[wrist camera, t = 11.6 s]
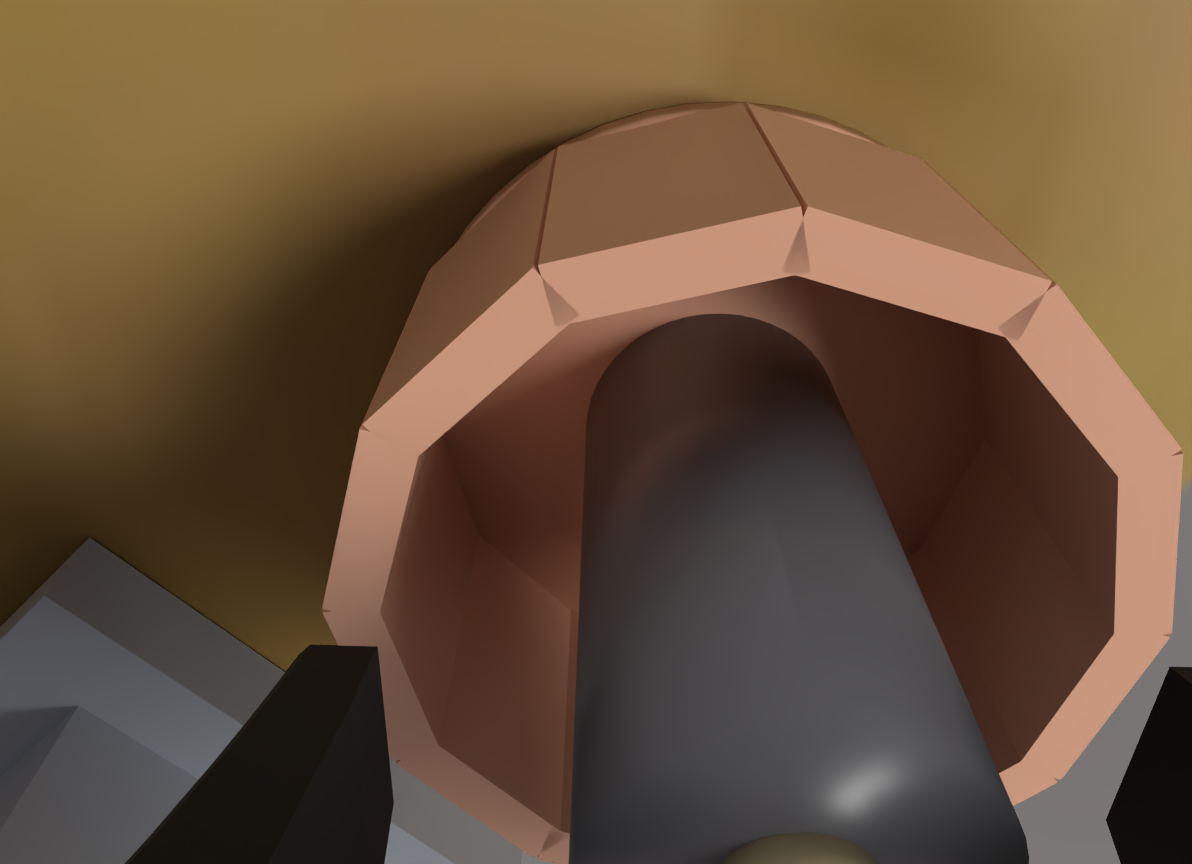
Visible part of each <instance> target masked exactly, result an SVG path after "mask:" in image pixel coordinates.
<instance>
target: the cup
mask: <svg viewBox="0 0 1192 864" xmlns="http://www.w3.org/2000/svg"><path fill="white" fill-rule="evenodd" d="M702 314H734V315H742V316H746V317H751V318H756V319H759V320H762V321H765V322H767V323H770V324H773V325H775V326H777V327H779V328H781V329H783V330H785V331H787V332H788V333H790V334H791V335H792V336H794V337H795V338H797V339H798V340H800V341H801V342H802V343H803V344H804V345H805V346H806V347H807V348H808V349H810V350H811V351H812V353H813V354H814V355H815V356H816V358H817V359H818V360H819V361H820V362H821V364H822V366H823V367H824V369H825V371H826V373H827V374H828V376H829V378H830V381H831V383H832V385H833V388H834V390H835V392H836V395H837V397H838V399H839V402H840V404H841V406H842V409H843V411H844V413H845V416H846V418H847V420H848V423H849V425H850V427H851V430H852V432H853V434H854V437H855V439H856V441H857V444H858V446H859V448H860V451H861V453H862V455H863V458H864V460H865V462H866V465H867V467H868V469H869V472H870V474H871V476H872V479H873V481H874V483H875V486H876V488H877V490H878V493H879V495H880V497H881V500H882V502H883V504H884V507H885V509H886V511H887V514H888V516H889V518H890V521H891V523H892V525H893V528H894V530H895V532H896V535H897V537H898V539H899V542H900V544H901V546H902V549H903V551H904V553H905V556H906V558H907V560H908V563H909V565H910V567H911V570H912V572H913V574H914V577H915V579H916V581H917V584H918V586H919V588H920V591H921V593H922V595H923V598H924V600H925V602H926V605H927V607H928V609H929V612H930V614H931V616H932V619H933V621H934V623H935V626H936V628H937V630H938V633H939V635H940V637H941V640H942V642H943V644H944V647H945V649H946V651H947V654H948V656H949V658H950V661H951V663H952V665H953V668H954V670H955V672H956V675H957V677H958V679H959V682H960V684H961V686H962V689H963V691H964V693H965V696H966V698H967V700H968V703H969V705H970V707H971V710H972V712H973V714H974V717H975V719H976V721H977V724H978V726H979V728H980V731H981V733H982V735H983V738H984V740H985V742H986V745H987V747H988V749H989V752H990V754H991V756H992V759H993V761H994V763H995V766H996V768H997V770H998V773H999V775H1000V777H1001V780H1002V782H1003V784H1004V787H1005V789H1006V791H1007V794H1008V796H1009V798H1010V801H1011V803H1012V805H1013V806H1014V805H1016V804H1018V803H1020V802H1022V801H1023V800H1025V799H1027V798H1029V797H1031V796H1033V795H1035V794H1037V793H1038V792H1040V791H1042V790H1044V789H1046V788H1048V787H1050V786H1052V785H1054V784H1055V783H1057V780H1056V778H1057V779H1062V778H1063V776H1064V775H1065V774H1066V773H1067V771H1068V770H1069V769H1070V767H1071V766H1072V765H1073V763H1074V762H1075V761H1076V759H1077V758H1078V757H1079V756H1080V754H1081V753H1082V752H1083V750H1084V749H1085V748H1086V746H1087V745H1088V744H1089V742H1090V741H1091V740H1092V739H1093V737H1094V736H1095V735H1096V733H1097V732H1098V731H1099V729H1100V728H1101V727H1102V726H1103V724H1104V723H1105V722H1106V720H1107V719H1108V718H1109V716H1110V715H1111V714H1112V713H1113V711H1114V710H1115V709H1116V707H1117V706H1118V705H1119V703H1120V702H1121V701H1122V699H1123V698H1124V697H1125V696H1126V694H1127V693H1128V691H1129V690H1130V689H1131V688H1132V686H1133V685H1134V684H1135V683H1136V681H1137V680H1138V679H1139V677H1140V676H1141V675H1142V673H1143V672H1144V671H1145V669H1146V668H1147V667H1148V666H1149V664H1150V663H1151V662H1152V660H1153V659H1154V658H1155V656H1156V655H1157V654H1158V653H1159V651H1160V650H1161V649H1162V647H1163V646H1164V645H1165V643H1166V642H1167V641H1168V639H1169V638H1170V636H1169V635H1168V634H1170V633H1172V624H1173V609H1174V608H1173V607H1174V593H1175V576H1176V561H1177V545H1178V530H1179V514H1180V498H1181V483H1182V467H1183V453H1182V452H1181V451H1180V450H1182V449H1181V447H1180V446H1179V445H1178V443H1177V442H1176V441H1175V439H1174V438H1173V437H1172V436H1171V434H1170V433H1169V432H1168V430H1167V429H1166V428H1165V426H1164V425H1163V424H1162V422H1161V421H1160V420H1159V418H1158V417H1157V416H1156V414H1155V413H1154V412H1153V410H1152V409H1151V408H1150V406H1149V405H1148V404H1147V403H1146V401H1145V400H1144V399H1143V397H1142V396H1141V395H1140V393H1139V392H1138V391H1137V389H1136V388H1135V387H1134V385H1133V384H1132V383H1131V381H1130V380H1129V379H1128V377H1127V376H1126V375H1125V374H1124V372H1123V371H1122V370H1121V368H1120V367H1119V366H1118V364H1117V363H1116V362H1115V360H1114V359H1113V358H1112V356H1111V355H1110V354H1109V352H1108V351H1107V350H1106V348H1105V347H1104V346H1103V344H1102V343H1101V342H1100V341H1099V339H1098V338H1097V337H1096V335H1095V334H1094V333H1093V331H1092V330H1091V329H1090V327H1089V326H1088V325H1087V323H1086V322H1085V321H1084V319H1083V318H1082V317H1081V315H1080V314H1079V313H1078V312H1077V310H1076V309H1075V308H1074V306H1073V305H1072V304H1071V302H1070V301H1069V300H1068V298H1067V297H1066V296H1065V294H1064V293H1063V292H1062V290H1061V289H1060V288H1059V286H1058V285H1057V284H1056V283H1055V282H1054V281H1053V280H1052V279H1051V278H1050V277H1049V276H1047V275H1046V274H1045V273H1044V272H1043V271H1042V270H1041V269H1040V268H1039V267H1038V266H1037V265H1036V264H1035V263H1033V262H1032V261H1031V260H1030V259H1029V258H1028V257H1027V256H1026V255H1025V254H1024V253H1023V252H1022V251H1021V250H1019V249H1018V248H1017V247H1016V246H1015V245H1014V244H1013V243H1012V242H1011V241H1010V240H1009V239H1008V238H1007V237H1006V236H1004V235H1003V234H1002V233H1001V232H1000V231H999V230H998V229H997V228H996V227H995V226H994V225H993V224H992V223H990V222H989V221H988V220H987V219H986V218H985V217H984V216H983V215H982V214H981V213H980V212H979V211H978V210H977V209H975V208H974V207H973V206H972V205H971V204H970V203H969V202H968V201H967V200H966V199H965V198H964V197H963V196H961V195H960V194H959V193H958V192H957V191H956V190H955V189H954V188H953V187H952V186H951V185H950V184H949V183H948V182H946V181H945V180H944V179H943V178H942V177H941V176H940V175H939V174H938V173H937V172H936V171H935V170H934V169H932V168H931V167H930V166H929V165H928V164H927V163H926V162H925V161H923V160H922V159H921V158H918V157H915V156H912V155H909V154H906V153H903V152H900V151H896V150H893V149H890V148H888V147H886V146H885V145H883V144H881V143H879V142H878V141H876V140H874V139H873V138H871V137H869V136H867V135H866V134H864V133H862V132H860V131H857V130H855V129H852V128H850V127H847V126H845V125H842V124H840V123H837V122H835V121H832V120H830V119H827V118H825V117H822V116H818V115H814V114H810V113H806V112H802V111H798V110H794V109H789V108H785V107H781V106H773V105H763V104H753V103H743V102H714V103H690V104H684V105H678V106H672V107H666V108H661V109H655V110H649V111H645V112H641V113H638V114H635V115H632V116H629V117H625V118H622V119H619V120H616V121H613V122H609V123H606V124H603V125H601V126H599V127H597V128H595V129H593V130H590V131H588V132H586V133H584V134H582V135H580V136H577V137H575V138H573V139H571V140H569V141H567V142H565V143H563V144H561V145H560V146H558V147H557V148H555V149H553V150H552V151H550V152H549V153H547V154H546V155H544V156H543V157H541V158H539V159H538V160H536V161H535V162H533V163H532V164H530V165H528V166H527V167H526V168H525V169H524V170H522V171H521V172H520V173H519V174H518V175H517V176H515V177H514V178H513V179H512V180H511V181H510V182H508V183H507V184H506V185H505V186H504V187H502V188H501V189H500V190H499V191H498V192H497V193H496V194H495V195H494V196H493V197H492V198H491V199H490V200H489V201H488V203H487V204H486V205H485V206H484V207H483V208H482V209H481V210H480V211H479V213H478V214H477V215H476V216H475V217H474V218H473V219H472V220H471V222H470V223H469V224H468V225H467V227H466V228H465V230H464V231H463V233H462V234H461V236H460V237H459V239H458V240H457V242H456V243H455V245H454V246H453V247H452V248H451V249H450V250H449V251H448V252H447V253H446V254H445V255H444V256H443V257H442V258H441V259H440V260H439V261H438V262H437V263H436V264H435V265H434V266H433V267H432V268H431V269H430V270H429V272H428V274H427V276H426V278H425V280H424V283H423V285H422V287H421V290H420V292H419V294H418V296H417V299H416V301H415V303H414V306H413V308H412V310H411V312H410V315H409V317H408V319H407V322H406V324H405V326H404V328H403V331H402V333H401V335H400V338H399V340H398V342H397V344H396V347H395V349H394V351H393V354H392V356H391V358H390V360H389V363H388V365H387V367H386V370H385V372H384V374H383V377H382V379H381V381H380V383H379V386H378V388H377V390H376V393H375V395H374V397H373V399H372V402H371V404H370V406H369V409H368V411H367V413H366V415H365V418H364V420H363V422H362V425H361V427H360V429H359V434H358V439H357V444H356V448H355V453H354V458H353V463H352V467H351V472H350V477H349V482H348V487H347V491H346V496H345V501H344V506H343V511H342V515H341V520H340V525H339V530H338V534H337V539H336V544H335V549H334V554H333V558H332V563H331V568H330V573H329V577H328V582H327V587H326V592H325V597H324V601H323V606H322V609H324V610H323V615H324V617H325V619H326V621H327V623H328V625H329V628H330V630H331V632H332V634H333V636H334V638H335V640H336V642H337V644H338V645H340V646H378V654H379V663H380V673H381V683H382V693H383V702H384V712H385V722H386V731H387V741H388V751H389V753H390V755H391V758H392V760H393V761H396V760H397V761H396V764H397V765H398V766H400V767H401V768H403V769H404V770H405V771H407V772H408V773H410V774H411V775H413V776H414V777H416V778H417V779H419V780H420V781H422V782H423V783H424V784H426V785H427V786H429V787H430V788H432V789H433V790H435V791H436V792H438V793H439V794H441V795H442V796H444V797H445V798H446V799H448V800H449V801H451V802H452V803H454V804H455V805H457V806H458V807H460V808H461V809H463V810H464V811H466V812H467V813H468V814H470V815H471V816H473V817H474V818H476V819H477V820H479V821H480V822H482V823H483V824H485V825H486V826H487V827H489V828H490V829H492V830H493V831H495V832H496V833H498V834H499V835H501V836H502V837H504V838H505V839H507V840H508V841H509V842H511V843H512V844H514V845H515V846H517V847H518V848H520V849H521V850H523V851H524V852H526V853H527V854H529V855H530V856H531V857H533V858H534V857H536V856H538V860H542V861H547V862H552V863H557V864H569V839H570V815H571V790H572V765H573V741H574V716H575V692H576V667H577V643H578V618H579V593H580V569H581V544H582V520H583V495H584V471H585V446H586V425H587V413H588V409H589V405H590V401H591V397H592V395H593V392H594V390H595V387H596V385H597V383H598V381H599V380H600V378H601V376H602V374H603V373H604V371H605V370H606V369H607V367H608V366H609V365H610V363H611V362H612V361H613V359H614V358H615V357H616V356H617V355H618V354H619V353H620V352H621V351H622V350H623V349H624V348H625V347H627V346H628V345H629V344H631V343H632V342H633V341H635V340H636V339H637V338H639V337H640V336H642V335H644V334H645V333H647V332H649V331H651V330H652V329H654V328H657V327H659V326H661V325H664V324H666V323H668V322H671V321H675V320H678V319H681V318H685V317H690V316H696V315H702Z"/></svg>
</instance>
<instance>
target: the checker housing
mask: <svg viewBox="0 0 1192 864" xmlns="http://www.w3.org/2000/svg"><path fill="white" fill-rule="evenodd" d="M284 673H285V672H284V671H282V670H281V669H280V668H278V667H277V666H275V665H274V664H272V663H271V662H269V661H268V660H267V659H265V658H264V657H262V656H261V655H259V654H258V653H256V652H255V651H253V650H252V649H251V648H249V647H248V646H246V645H245V644H243V643H242V642H240V641H239V640H238V639H236V638H235V637H233V636H232V635H230V634H229V633H227V632H226V631H224V630H223V629H222V628H220V627H219V626H217V625H216V624H214V623H213V622H211V621H210V620H209V619H207V618H206V617H204V616H203V615H201V614H200V613H198V612H197V611H196V610H194V609H193V608H191V607H190V606H188V605H187V604H185V603H184V602H182V601H181V600H180V599H178V598H177V597H175V596H174V595H172V594H171V593H169V592H168V591H167V590H165V589H164V588H162V587H161V586H159V585H158V584H156V583H155V582H153V581H152V580H151V579H149V578H148V577H146V576H145V575H143V574H142V573H140V572H139V571H138V570H136V569H135V568H133V567H132V566H130V565H129V564H127V563H126V562H124V561H123V560H122V559H120V558H119V557H117V556H116V555H114V554H113V553H111V552H110V551H109V550H107V549H106V548H104V547H103V546H101V545H100V544H98V543H97V542H95V541H94V540H93V539H91V538H90V537H89V538H88V539H87V540H86V541H85V542H84V543H83V544H82V545H81V546H80V547H79V548H78V549H77V550H76V551H75V552H74V553H73V554H72V555H71V556H70V557H69V558H68V559H67V560H66V561H65V562H64V563H63V564H62V565H61V566H60V567H59V568H58V569H57V570H56V571H55V572H54V573H53V574H52V575H51V576H50V577H49V578H48V580H47V581H46V582H45V583H44V584H43V585H42V586H41V587H40V588H39V589H38V590H37V591H36V592H35V593H34V594H33V595H32V596H31V597H30V598H29V599H28V600H27V601H26V602H25V603H24V604H23V605H22V606H21V607H20V608H19V609H18V610H17V611H16V612H15V613H14V614H13V615H12V616H11V617H10V618H9V619H8V620H7V621H6V622H5V623H4V624H3V625H2V626H1V627H0V864H125V863H126V862H127V861H128V859H129V858H130V857H131V856H132V855H133V854H134V853H135V852H136V851H137V850H138V848H139V847H140V846H141V845H142V844H143V843H144V842H145V841H146V840H147V838H148V837H149V836H150V835H151V834H152V833H153V832H154V830H155V829H156V828H157V827H158V826H159V825H160V823H161V822H162V821H163V820H164V819H165V818H166V817H167V815H168V814H169V813H170V812H171V811H172V810H173V808H174V807H175V806H176V805H177V804H178V803H179V802H180V800H181V799H182V798H183V797H184V796H185V795H186V793H187V792H188V791H189V790H190V789H191V788H192V787H193V785H194V784H195V783H196V782H197V781H198V780H199V778H200V777H201V776H202V775H203V774H204V773H205V772H206V770H207V769H208V768H209V767H210V766H211V764H212V763H213V762H214V761H215V760H216V758H217V757H218V756H219V755H220V753H221V752H222V751H223V750H224V749H225V747H226V746H227V745H228V744H229V743H230V741H231V740H232V739H233V738H234V736H235V735H236V734H237V733H238V732H239V730H240V729H241V728H242V727H243V725H244V724H245V723H246V722H247V720H248V719H249V718H250V717H251V715H252V714H253V713H254V712H255V710H256V709H257V708H258V707H259V705H260V704H261V703H262V702H263V700H264V699H265V698H266V697H267V695H268V694H269V693H270V691H271V690H272V689H273V688H274V686H275V685H276V684H277V682H278V681H279V680H280V679H281V677H282V676H283V675H284ZM389 760H390V770H391V780H392V789H393V799H394V805H393V811H392V818H391V824H390V831H389V837H388V844H387V850H386V856H385V863H384V864H521V859H522V850H521V849H520V848H518V847H517V846H515V845H514V844H512V843H511V842H509V841H508V840H507V839H505V838H504V837H502V836H501V835H499V834H498V833H496V832H495V831H493V830H492V829H490V828H489V827H487V826H486V825H485V824H483V823H482V822H480V821H479V820H477V819H476V818H474V817H473V816H471V815H470V814H468V813H467V812H466V811H464V810H463V809H461V808H460V807H458V806H457V805H455V804H454V803H452V802H451V801H449V800H448V799H446V798H445V797H444V796H442V795H441V794H439V793H438V792H436V791H435V790H433V789H432V788H430V787H429V786H427V785H426V784H424V783H423V782H422V781H420V780H419V779H417V778H416V777H414V776H413V775H411V774H410V773H408V772H407V771H405V770H404V769H403V768H401V767H400V766H398V765H397V764H396V761H397V760H396V761H393V760H392V758H391V755H390V753H389Z"/></svg>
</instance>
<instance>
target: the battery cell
mask: <svg viewBox="0 0 1192 864" xmlns="http://www.w3.org/2000/svg"><path fill="white" fill-rule="evenodd" d="M569 864H1029V856H1028V849H1027V843H1026V837H1025V835H1024V832H1023V829H1022V827H1021V824H1020V822H1019V819H1018V817H1017V815H1016V812H1015V810H1014V808H1013V805H1012V803H1011V801H1010V798H1009V796H1008V794H1007V791H1006V789H1005V787H1004V784H1003V782H1002V780H1001V777H1000V775H999V773H998V770H997V768H996V766H995V763H994V761H993V759H992V756H991V754H990V752H989V749H988V747H987V745H986V742H985V740H984V738H983V735H982V733H981V731H980V728H979V726H978V724H977V721H976V719H975V717H974V714H973V712H972V710H971V707H970V705H969V703H968V700H967V698H966V696H965V693H964V691H963V689H962V686H961V684H960V682H959V679H958V677H957V675H956V672H955V670H954V668H953V665H952V663H951V661H950V658H949V656H948V654H947V651H946V649H945V647H944V644H943V642H942V640H941V637H940V635H939V633H938V630H937V628H936V626H935V623H934V621H933V619H932V616H931V614H930V612H929V609H928V607H927V605H926V602H925V600H924V598H923V595H922V593H921V591H920V588H919V586H918V584H917V581H916V579H915V577H914V574H913V572H912V570H911V567H910V565H909V563H908V560H907V558H906V556H905V553H904V551H903V549H902V546H901V544H900V542H899V539H898V537H897V535H896V532H895V530H894V528H893V525H892V523H891V521H890V518H889V516H888V514H887V511H886V509H885V507H884V504H883V502H882V500H881V497H880V495H879V493H878V490H877V488H876V486H875V483H874V481H873V479H872V476H871V474H870V472H869V469H868V467H867V465H866V462H865V460H864V458H863V455H862V453H861V451H860V448H859V446H858V444H857V441H856V439H855V437H854V434H853V432H852V430H851V427H850V425H849V423H848V420H847V418H846V416H845V413H844V411H843V409H842V406H841V404H840V402H839V399H838V397H837V395H836V392H835V390H834V388H833V385H832V383H831V381H830V378H829V376H828V374H827V373H826V371H825V369H824V367H823V366H822V364H821V362H820V361H819V360H818V359H817V358H816V356H815V355H814V354H813V353H812V351H811V350H810V349H808V348H807V347H806V346H805V345H804V344H803V343H802V342H801V341H800V340H798V339H797V338H795V337H794V336H792V335H791V334H790V333H788V332H787V331H785V330H783V329H781V328H779V327H777V326H775V325H773V324H770V323H767V322H765V321H762V320H759V319H756V318H751V317H746V316H742V315H734V314H702V315H696V316H690V317H685V318H681V319H678V320H675V321H671V322H668V323H666V324H664V325H661V326H659V327H657V328H654V329H652V330H651V331H649V332H647V333H645V334H644V335H642V336H640V337H639V338H637V339H636V340H635V341H633V342H632V343H631V344H629V345H628V346H627V347H625V348H624V349H623V350H622V351H621V352H620V353H619V354H618V355H617V356H616V357H615V358H614V359H613V361H612V362H611V363H610V365H609V366H608V367H607V369H606V370H605V371H604V373H603V374H602V376H601V378H600V380H599V381H598V383H597V385H596V387H595V390H594V392H593V395H592V397H591V401H590V405H589V409H588V413H587V425H586V446H585V471H584V495H583V520H582V544H581V569H580V593H579V618H578V643H577V667H576V692H575V716H574V741H573V765H572V790H571V815H570V839H569Z"/></svg>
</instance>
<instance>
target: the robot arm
mask: <svg viewBox="0 0 1192 864" xmlns="http://www.w3.org/2000/svg"><path fill="white" fill-rule="evenodd" d="M393 805H394V799H393V789H392V780H391V770H390V760H389V751H388V741H387V731H386V722H385V712H384V702H383V693H382V683H381V673H380V663H379V654H378V646H340V645H310V646H308V647H307V648H306V649H305V650H304V651H303V652H301V653H300V654H299V655H298V657H297V658H296V659H295V660H294V662H293V663H292V664H291V666H290V667H289V668H288V670H287V671H286V672H285V673H284V675H283V676H282V677H281V679H280V680H279V681H278V682H277V684H276V685H275V686H274V688H273V689H272V690H271V691H270V693H269V694H268V695H267V697H266V698H265V699H264V700H263V702H262V703H261V704H260V705H259V707H258V708H257V709H256V710H255V712H254V713H253V714H252V715H251V717H250V718H249V719H248V720H247V722H246V723H245V724H244V725H243V727H242V728H241V729H240V730H239V732H238V733H237V734H236V735H235V736H234V738H233V739H232V740H231V741H230V743H229V744H228V745H227V746H226V747H225V749H224V750H223V751H222V752H221V753H220V755H219V756H218V757H217V758H216V760H215V761H214V762H213V763H212V764H211V766H210V767H209V768H208V769H207V770H206V772H205V773H204V774H203V775H202V776H201V777H200V778H199V780H198V781H197V782H196V783H195V784H194V785H193V787H192V788H191V789H190V790H189V791H188V792H187V793H186V795H185V796H184V797H183V798H182V799H181V800H180V802H179V803H178V804H177V805H176V806H175V807H174V808H173V810H172V811H171V812H170V813H169V814H168V815H167V817H166V818H165V819H164V820H163V821H162V822H161V823H160V825H159V826H158V827H157V828H156V829H155V830H154V832H153V833H152V834H151V835H150V836H149V837H148V838H147V840H146V841H145V842H144V843H143V844H142V845H141V846H140V847H139V848H138V850H137V851H136V852H135V853H134V854H133V855H132V856H131V857H130V858H129V859H128V861H127V862H126V863H125V864H384V863H385V856H386V850H387V844H388V837H389V831H390V824H391V818H392V811H393ZM1106 821H1107V824H1108V827H1109V830H1110V833H1111V836H1112V839H1113V842H1114V845H1115V848H1116V850H1117V854H1118V856H1119V859H1120V862H1121V864H1192V667H1170V668H1169V670H1168V673H1167V675H1166V677H1165V680H1164V682H1163V685H1162V687H1161V689H1160V692H1159V694H1158V696H1157V699H1156V701H1155V704H1154V706H1153V709H1152V711H1151V713H1150V716H1149V719H1148V721H1147V723H1146V725H1145V727H1144V730H1143V732H1142V735H1141V737H1140V740H1139V742H1138V744H1137V747H1136V749H1135V751H1134V754H1133V756H1132V759H1131V761H1130V764H1129V766H1128V768H1127V771H1126V773H1125V775H1124V778H1123V780H1122V783H1121V785H1120V788H1119V790H1118V792H1117V794H1116V797H1115V799H1114V802H1113V804H1112V807H1111V809H1110V811H1109V814H1108V816H1107V819H1106Z"/></svg>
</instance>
